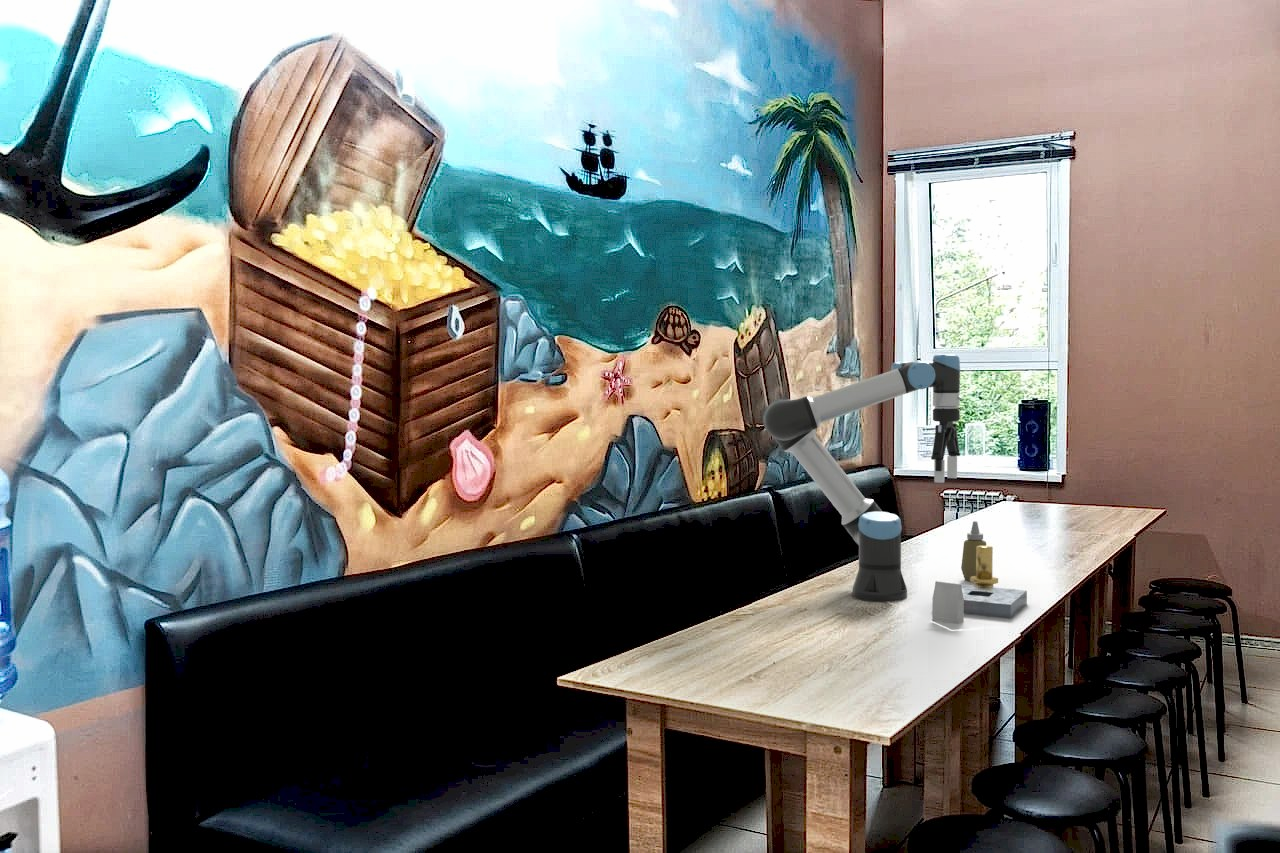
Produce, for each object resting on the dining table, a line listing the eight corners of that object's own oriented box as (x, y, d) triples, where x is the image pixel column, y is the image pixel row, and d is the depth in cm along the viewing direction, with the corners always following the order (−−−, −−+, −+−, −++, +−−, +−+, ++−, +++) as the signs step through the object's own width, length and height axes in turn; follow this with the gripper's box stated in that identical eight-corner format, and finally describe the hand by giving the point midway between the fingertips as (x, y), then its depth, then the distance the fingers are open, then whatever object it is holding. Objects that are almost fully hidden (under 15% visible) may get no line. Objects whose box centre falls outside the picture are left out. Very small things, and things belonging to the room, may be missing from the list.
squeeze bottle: (958, 581, 328) (958, 522, 327) (963, 577, 335) (964, 519, 334) (986, 584, 324) (986, 524, 323) (990, 579, 331) (991, 520, 330)
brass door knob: (979, 597, 306) (979, 549, 305) (965, 592, 313) (965, 545, 312) (1003, 596, 307) (1003, 548, 306) (989, 590, 315) (989, 544, 314)
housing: (1010, 620, 278) (1010, 604, 278) (932, 611, 288) (932, 596, 288) (1026, 605, 295) (1026, 590, 295) (952, 597, 306) (952, 583, 305)
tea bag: (957, 624, 274) (957, 585, 273) (932, 621, 278) (932, 582, 278) (963, 622, 277) (963, 583, 276) (938, 618, 281) (938, 580, 280)
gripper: (947, 409, 304) (947, 485, 305) (970, 406, 325) (969, 476, 326) (921, 409, 308) (920, 483, 309) (945, 406, 329) (944, 475, 330)
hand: (945, 480), depth 318 cm, fingers open, 13 cm apart
